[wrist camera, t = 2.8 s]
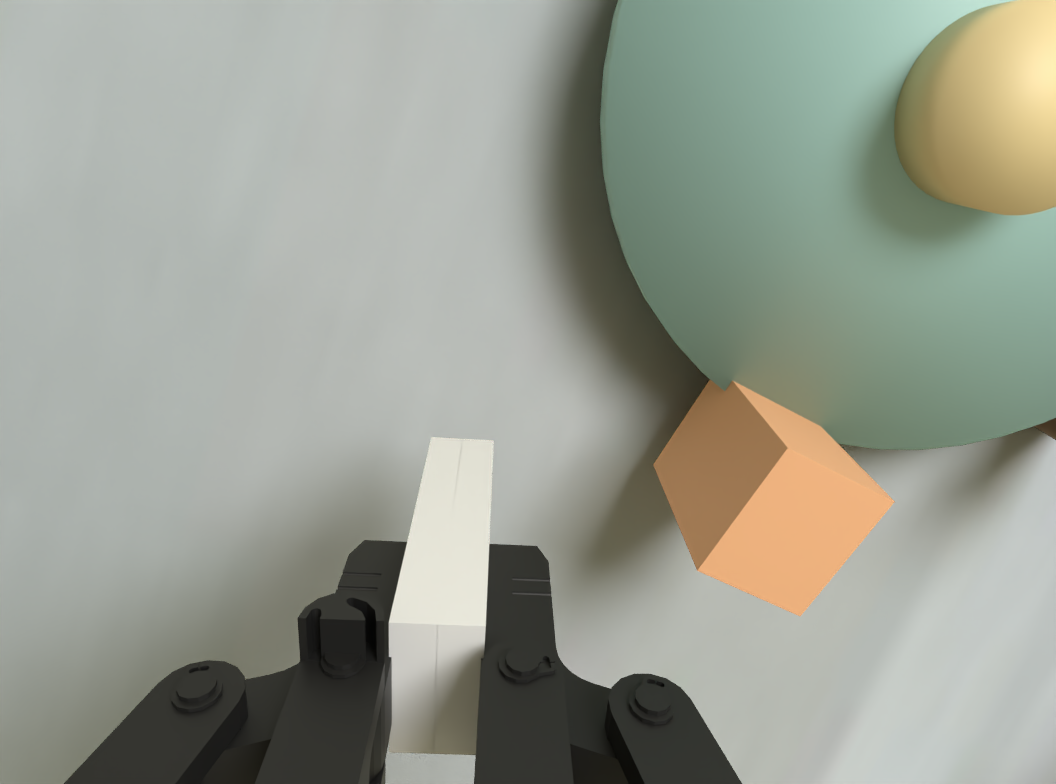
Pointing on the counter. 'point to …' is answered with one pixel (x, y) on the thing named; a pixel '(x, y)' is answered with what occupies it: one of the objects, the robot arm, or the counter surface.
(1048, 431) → the dowel
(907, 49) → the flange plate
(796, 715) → the counter surface
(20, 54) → the counter surface
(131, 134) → the counter surface
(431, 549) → the robot arm
